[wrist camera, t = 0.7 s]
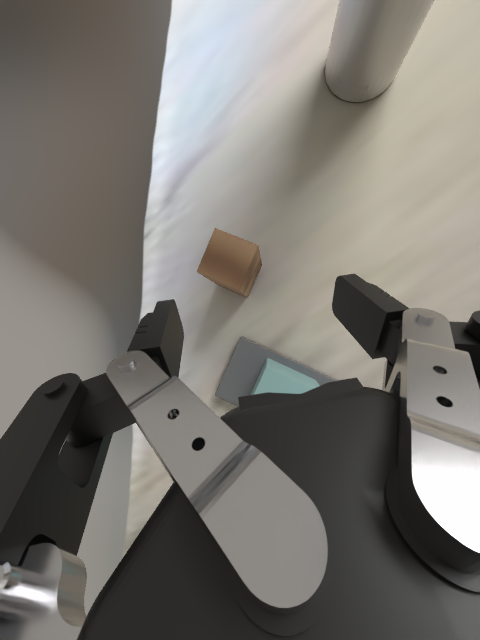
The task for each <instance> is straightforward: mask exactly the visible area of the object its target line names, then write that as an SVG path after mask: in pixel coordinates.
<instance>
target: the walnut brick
mask: <svg viewBox="0 0 480 640" xmlns="http://www.w3.org/2000/svg"><path fill="white" fill-rule="evenodd" d="M261 266H262V264H261V258H260V252H259V247H258V245H256V244H254V243H251V242H249V241H246V240H244V239H241V238H239V237H236V236H234V235H231V234H229V233H226V232H224V231H221V230H219V229H216V228H215V230H214V232H213V234H212V237H211V239H210V241H209V244H208V246H207V249H206V251H205V253H204V256H203V258H202V260H201V263H200V265H199V268H198V270H197V272H198V273H200V274H201V275H203V276H204V277H206V278H208V279H209V280H211V281H213V282H214V283H216V284H218V285H220V286H223V287H225V288H227V289H229V290H232V291H234V292H236V293H239V294H241V295H243V296H246V297H248V295H249V293H250V291H251V288H252V286H253V284H254V282H255V279H256V277H257V275H258V273H259V270H260V268H261Z"/></svg>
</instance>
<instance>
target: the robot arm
mask: <svg viewBox="0 0 480 640" xmlns="http://www.w3.org/2000/svg"><path fill="white" fill-rule="evenodd" d="M433 2H434V0H340V1H339V6H338V10H337V15H336V20H335V24H334V29H333V33H332V38H331V43H330V47H329V52H328V57H327V62H326V66H325V77H326V82H327V84H328V86H329V88H330V90H331V91H332V92H333V93H334V94H335V95H336V96H338V97H339V98H341V99H343V100H345V101H350V102H362V101H367V100H370V99H372V98H375V97H377V96H378V95H380V94H381V93H382V92H384V91H385V90H386V89H387V88H388V87H389V85H390V84H391V82H392V81H393V79H394V78H395V76H396V74H397V72H398V70H399V68H400V66H401V64H402V62H403V60H404V58H405V56H406V54H407V52H408V50H409V48H410V46H411V45H412V43H413V41H414V39H415V37H416V35H417V33H418V31H419V29H420V27H421V25H422V23H423V21H424V19H425V17H426V15H427V13H428V11H429V10H430V8H431V6H432V4H433ZM332 309H333V313H334V315H335V316H336V317H337V319H338V320H339V321H340V322H341V323H342V324H343V326H344V327H345V328H346V329H347V330H348V331H349V332H350V334H351V335H352V336H353V337H354V338H355V339H356V340H357V342H358V343H359V344H360V345H361V346H362V347H363V349H364V350H365V351H366V352H367V353H368V354H369V355H370V357H371V358H372V359H375V358H382V357H386V358H387V360H386V363H385V366H384V375H383V385H382V390H379V389H375V388H369V387H363V386H362V384H361V383H360V382H359V380H358V379H357V378H352V379H346V380H340V381H334V382H328V383H326V384H323V385H321V386H319V387H316V388H314V389H312V390H309V391H307V392H305V393H302V394H290V393H271V392H267V393H260V394H254V395H248V396H242V397H238V400H239V407H237V408H235V409H233V410H231V411H229V412H228V413H226V414H225V415H223V416H222V417H221V418H219V417H218V416H217V415H216V414H215V413H214V412H213V411H212V410H211V409H210V408H209V407H208V406H207V405H206V404H205V403H204V402H203V401H202V400H201V399H200V398H199V397H198V396H197V395H196V394H194V393H193V392H192V391H191V390H190V389H189V388H188V387H187V386H186V385H185V384H184V383H183V382H182V381H181V380H180V379H179V378H178V376H179V368H180V361H181V354H182V347H183V340H184V332H183V326H182V323H181V320H180V316H179V313H178V309H177V306H176V303H175V301H174V300H173V299H172V300H165V301H158V302H157V304H156V306H155V309H154V312H153V313H148V314H147V315H146V316H144V317H143V318H142V319H141V321H140V323H139V325H138V328H137V330H136V332H135V333H136V334H135V335H134V337H133V339H132V341H131V344H130V346H129V348H128V350H127V352H126V353H123V354H121V355H119V356H118V357H116V358H115V359H113V360H112V361H111V362H110V363H109V365H108V367H107V369H106V373H104V374H101V375H99V376H96V377H93V378H91V379H88V380H85V381H82V380H81V379H80V377H79V376H78V375H76V374H73V373H68V374H62V375H59V376H57V377H54V378H52V379H50V380H48V381H47V382H45V383H44V384H42V385H41V386H40V387H39V388H37V389H36V391H35V392H34V393H33V394H32V396H31V397H30V398H29V400H28V401H27V403H26V404H25V405H24V407H23V408H22V410H21V411H20V413H19V414H18V415H17V417H16V418H15V420H14V421H13V423H12V424H11V425H10V427H9V428H8V430H7V431H6V432H5V434H4V435H3V437H2V438H1V439H0V640H480V311H476V312H474V313H473V314H472V316H471V317H470V319H469V321H468V322H449V321H448V319H447V318H446V317H445V316H443V315H442V314H440V313H438V312H435V311H432V310H428V309H422V308H411V309H409V308H408V307H406V306H405V305H403V304H402V303H401V302H399V301H398V300H396V299H395V298H393V297H392V296H391V297H390V295H389V294H388V293H386V292H384V291H383V290H382V289H380V288H379V287H377V286H376V285H373V284H370V283H368V282H366V281H364V280H363V279H362V278H360V277H359V276H357V275H356V274H349V275H342V276H338V277H337V279H336V282H335V289H334V295H333V302H332ZM134 423H136V424H137V425H138V427H139V428H140V430H141V431H142V433H143V434H144V436H145V438H146V439H147V441H148V442H149V444H150V445H151V447H152V448H153V450H154V452H155V453H156V455H157V456H158V458H159V459H160V461H161V463H162V464H163V466H164V467H165V469H166V471H167V472H168V474H169V475H170V477H171V478H172V480H173V482H174V483H173V484H172V486H171V487H170V489H169V490H168V492H167V493H166V495H165V496H164V498H163V499H162V501H161V502H160V504H159V505H158V507H157V508H156V510H155V511H154V513H153V514H152V516H151V517H150V518H149V520H148V521H147V523H146V524H145V526H144V527H143V529H142V530H141V532H140V533H139V535H138V536H137V538H136V539H135V541H134V542H133V544H132V545H131V547H130V548H129V550H128V551H127V553H126V554H125V556H124V557H123V559H122V560H121V562H120V563H119V565H118V566H117V568H116V569H115V571H114V572H113V574H112V575H111V577H110V578H109V580H108V581H107V583H106V584H105V586H104V587H103V589H102V590H101V592H100V593H99V595H98V597H97V598H96V600H95V602H94V603H93V605H92V607H91V609H90V611H89V613H88V615H87V617H86V614H85V609H84V593H85V587H86V579H87V573H86V567H85V564H84V562H83V561H82V560H81V559H80V558H79V557H77V553H78V549H79V546H80V543H81V540H82V536H83V533H84V529H85V526H86V523H87V519H88V516H89V512H90V509H91V506H92V502H93V499H94V495H95V492H96V488H97V485H98V482H99V479H100V475H101V472H102V468H103V465H104V461H105V458H106V454H107V451H108V448H109V444H110V441H111V438H112V434H113V433H114V432H116V431H118V430H120V429H122V428H125V427H127V426H129V425H131V424H134ZM65 439H66V441H65ZM64 441H65V443H64ZM63 443H64V445H63ZM62 445H63V447H62ZM61 447H62V449H61ZM60 450H61V451H60ZM59 452H60V454H59ZM58 455H59V456H58Z"/></svg>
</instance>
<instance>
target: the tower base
mask: <svg viewBox="0 0 480 640" xmlns="http://www.w3.org/2000/svg"><path fill="white" fill-rule="evenodd" d="M334 381H338V380H335V379H333V378H331V377H329V376H327V375H325V374H322V373H320V372H318V371H316V370H314V369H311V368H309V367H307V366H305V365H303V364H301V363H298V362H296V361H294V360H292V359H290V358H287V357H285V356H283V355H281V354H279V353H277V352H274V351H272V350H270V349H268V348H266V347H263V346H261V345H259V344H257V343H255V342H252V341H250V340H248V339H246V338H244V337H240V340H239V342H238V344H237V346H236V349H235V351H234V353H233V355H232V358H231V360H230V362H229V364H228V367H227V369H226V371H225V373H224V376H223V378H222V380H221V382H220V385H219V387H218V389H217V392H216V394H215V395H216V396H218V397H220V398H222V399H224V400H226V401H228V402H230V403H232V404H234V405H236V406H238V407H239V400H238V397H242V396H248V395H254V394H260V393H267V392H271V393H290V394H302V393H305V392H307V391H309V390H312V389H314V388H316V387H319V386H321V385H323V384H326V383H328V382H334Z"/></svg>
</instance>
